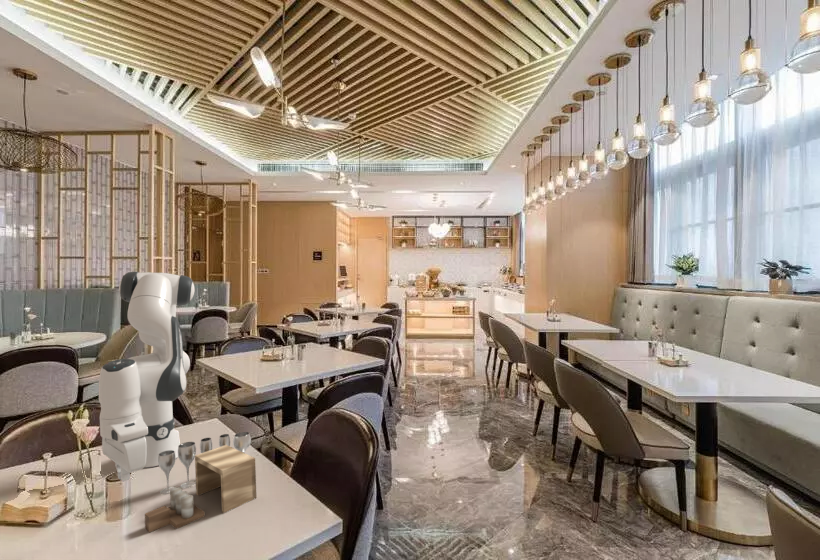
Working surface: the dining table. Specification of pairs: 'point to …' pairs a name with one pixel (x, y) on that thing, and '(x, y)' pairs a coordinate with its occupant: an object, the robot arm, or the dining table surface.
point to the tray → (174, 512)
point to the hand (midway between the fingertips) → (123, 479)
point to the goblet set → (189, 451)
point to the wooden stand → (226, 475)
